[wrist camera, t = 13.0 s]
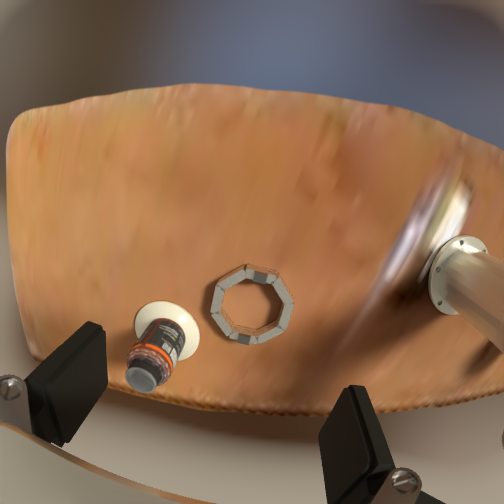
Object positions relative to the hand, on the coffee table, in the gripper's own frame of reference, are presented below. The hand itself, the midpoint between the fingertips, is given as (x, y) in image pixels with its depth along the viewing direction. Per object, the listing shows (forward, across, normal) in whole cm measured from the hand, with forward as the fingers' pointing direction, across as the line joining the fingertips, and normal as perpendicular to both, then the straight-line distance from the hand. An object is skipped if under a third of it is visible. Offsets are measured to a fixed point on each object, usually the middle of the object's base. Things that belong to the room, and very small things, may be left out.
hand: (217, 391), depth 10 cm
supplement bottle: (+28, +9, +17) cm, 34 cm away
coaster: (+28, +9, +17) cm, 34 cm away
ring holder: (+28, -2, +9) cm, 30 cm away
